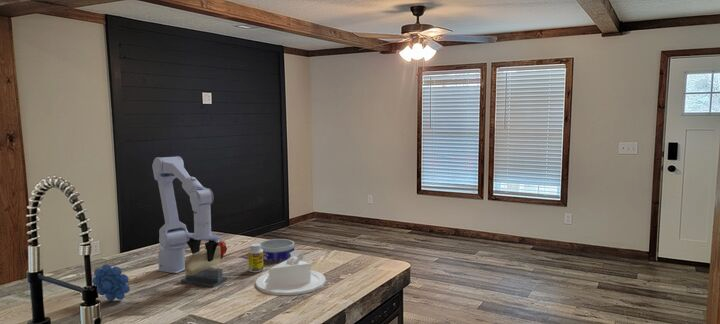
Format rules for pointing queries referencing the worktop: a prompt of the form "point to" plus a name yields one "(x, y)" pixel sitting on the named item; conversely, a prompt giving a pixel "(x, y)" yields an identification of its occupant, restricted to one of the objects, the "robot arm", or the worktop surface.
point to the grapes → (111, 282)
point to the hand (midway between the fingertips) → (203, 260)
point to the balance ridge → (206, 278)
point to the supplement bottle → (255, 258)
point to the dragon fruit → (222, 248)
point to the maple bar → (201, 261)
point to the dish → (291, 277)
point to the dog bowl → (277, 249)
